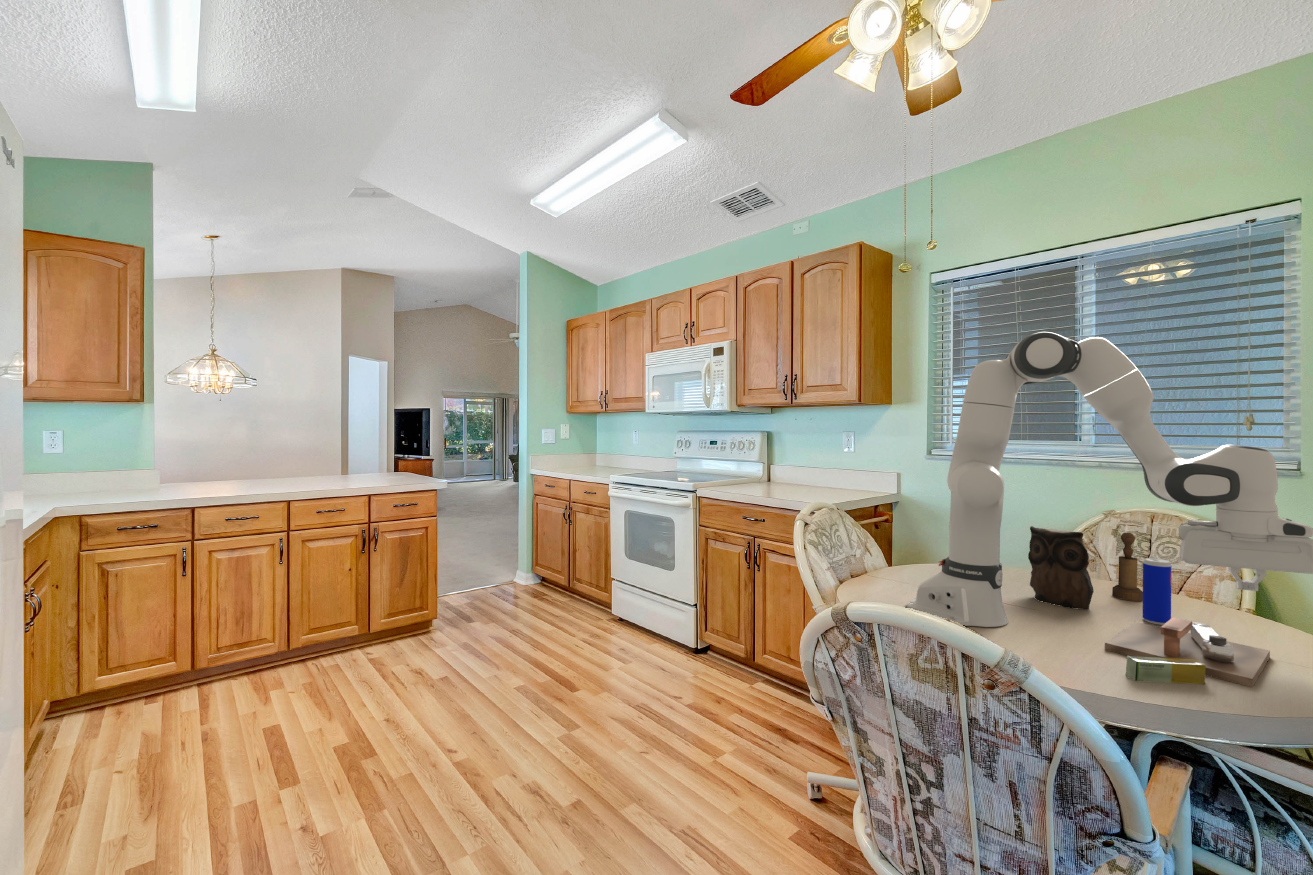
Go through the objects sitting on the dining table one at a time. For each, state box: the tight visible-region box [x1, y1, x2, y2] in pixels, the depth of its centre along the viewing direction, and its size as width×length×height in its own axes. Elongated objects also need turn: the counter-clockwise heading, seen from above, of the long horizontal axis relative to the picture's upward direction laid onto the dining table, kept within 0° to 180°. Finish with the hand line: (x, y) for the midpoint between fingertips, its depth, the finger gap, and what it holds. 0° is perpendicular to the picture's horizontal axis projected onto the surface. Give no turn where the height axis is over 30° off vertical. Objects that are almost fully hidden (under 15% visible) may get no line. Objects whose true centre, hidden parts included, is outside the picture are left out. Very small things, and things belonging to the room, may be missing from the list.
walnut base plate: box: [1104, 616, 1271, 688], centre depth 116 cm, size 22×22×7 cm
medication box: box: [1125, 655, 1206, 685], centre depth 104 cm, size 12×3×4 cm, turn 84°
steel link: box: [1190, 621, 1234, 661], centre depth 115 cm, size 17×4×2 cm, turn 147°
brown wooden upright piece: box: [1111, 532, 1143, 602], centre depth 154 cm, size 7×6×18 cm
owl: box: [1027, 525, 1094, 611], centre depth 151 cm, size 13×13×20 cm
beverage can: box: [1141, 557, 1172, 626], centre depth 135 cm, size 5×5×15 cm
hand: (1246, 589), depth 116 cm, fingers closed
